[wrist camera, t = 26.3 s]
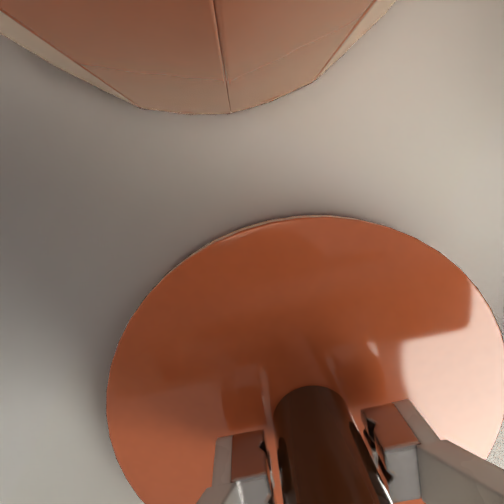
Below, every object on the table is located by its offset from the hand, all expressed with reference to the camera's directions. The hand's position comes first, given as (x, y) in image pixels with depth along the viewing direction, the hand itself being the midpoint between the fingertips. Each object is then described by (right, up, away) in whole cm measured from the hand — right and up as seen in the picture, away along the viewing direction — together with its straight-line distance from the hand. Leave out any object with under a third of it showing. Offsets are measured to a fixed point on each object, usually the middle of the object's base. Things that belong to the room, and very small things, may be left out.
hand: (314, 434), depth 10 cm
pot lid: (0, 0, +1) cm, 1 cm away
